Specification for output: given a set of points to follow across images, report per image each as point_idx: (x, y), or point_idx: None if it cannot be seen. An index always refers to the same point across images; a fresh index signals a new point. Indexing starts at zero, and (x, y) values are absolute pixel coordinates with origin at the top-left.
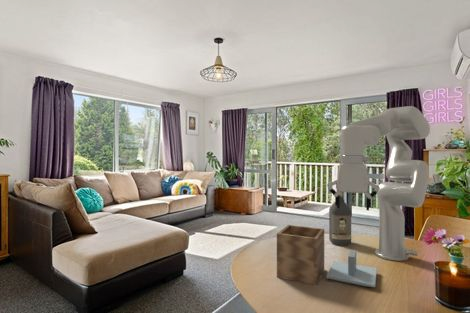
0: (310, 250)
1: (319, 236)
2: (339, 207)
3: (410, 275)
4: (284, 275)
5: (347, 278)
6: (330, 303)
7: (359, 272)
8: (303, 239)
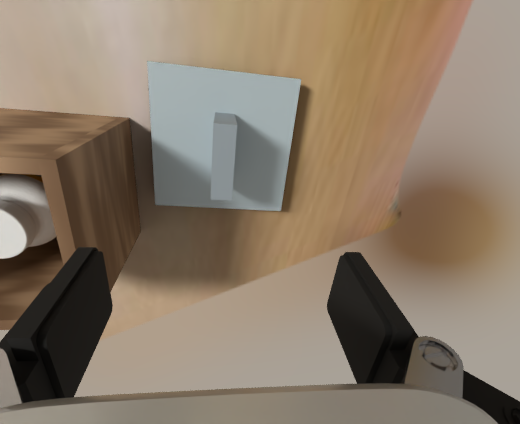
0: None
1: None
2: (109, 290)
3: (399, 53)
4: None
5: (212, 200)
6: (189, 290)
7: (244, 144)
8: None
